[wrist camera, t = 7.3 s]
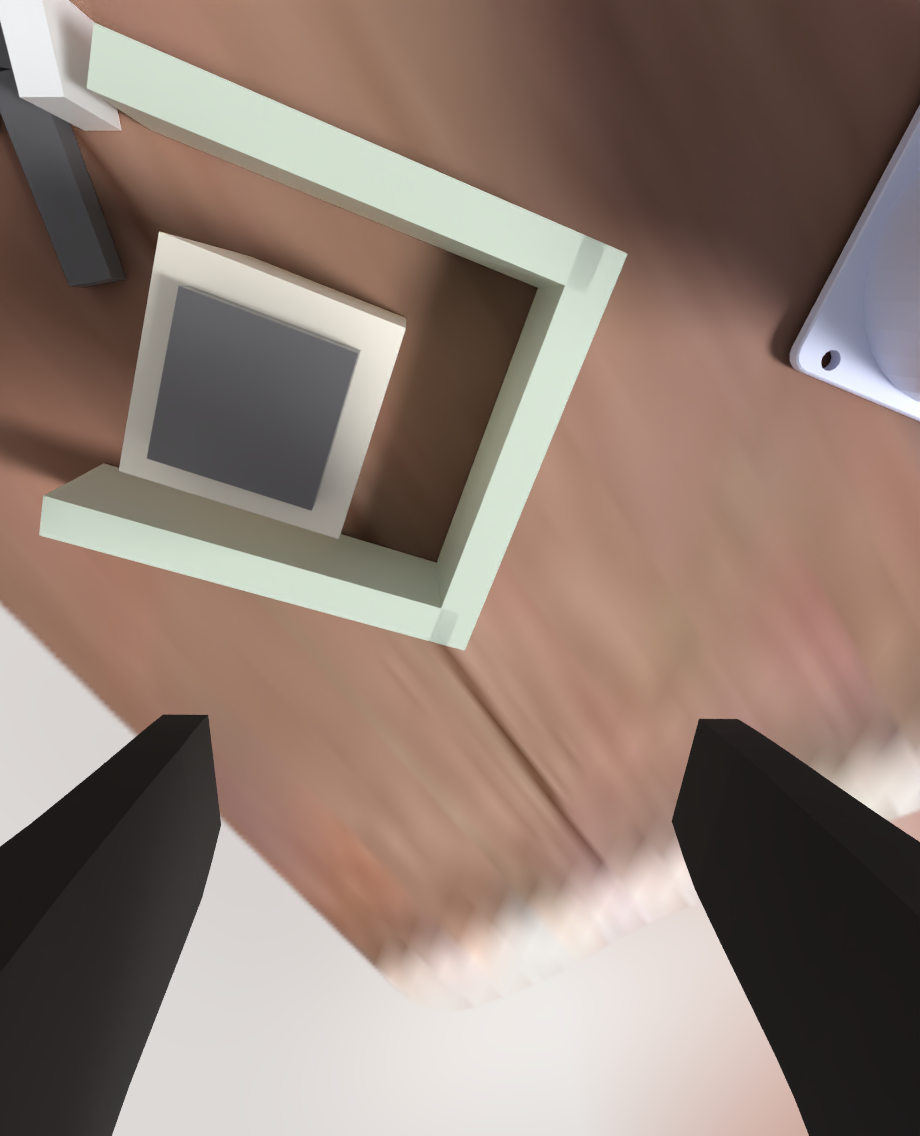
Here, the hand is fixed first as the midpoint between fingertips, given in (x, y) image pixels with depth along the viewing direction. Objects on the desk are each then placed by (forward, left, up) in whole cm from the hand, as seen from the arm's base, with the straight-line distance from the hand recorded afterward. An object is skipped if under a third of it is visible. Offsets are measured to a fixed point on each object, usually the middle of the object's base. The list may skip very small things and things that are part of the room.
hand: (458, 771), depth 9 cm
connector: (+5, -3, -10) cm, 11 cm away
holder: (+4, -3, -10) cm, 11 cm away
